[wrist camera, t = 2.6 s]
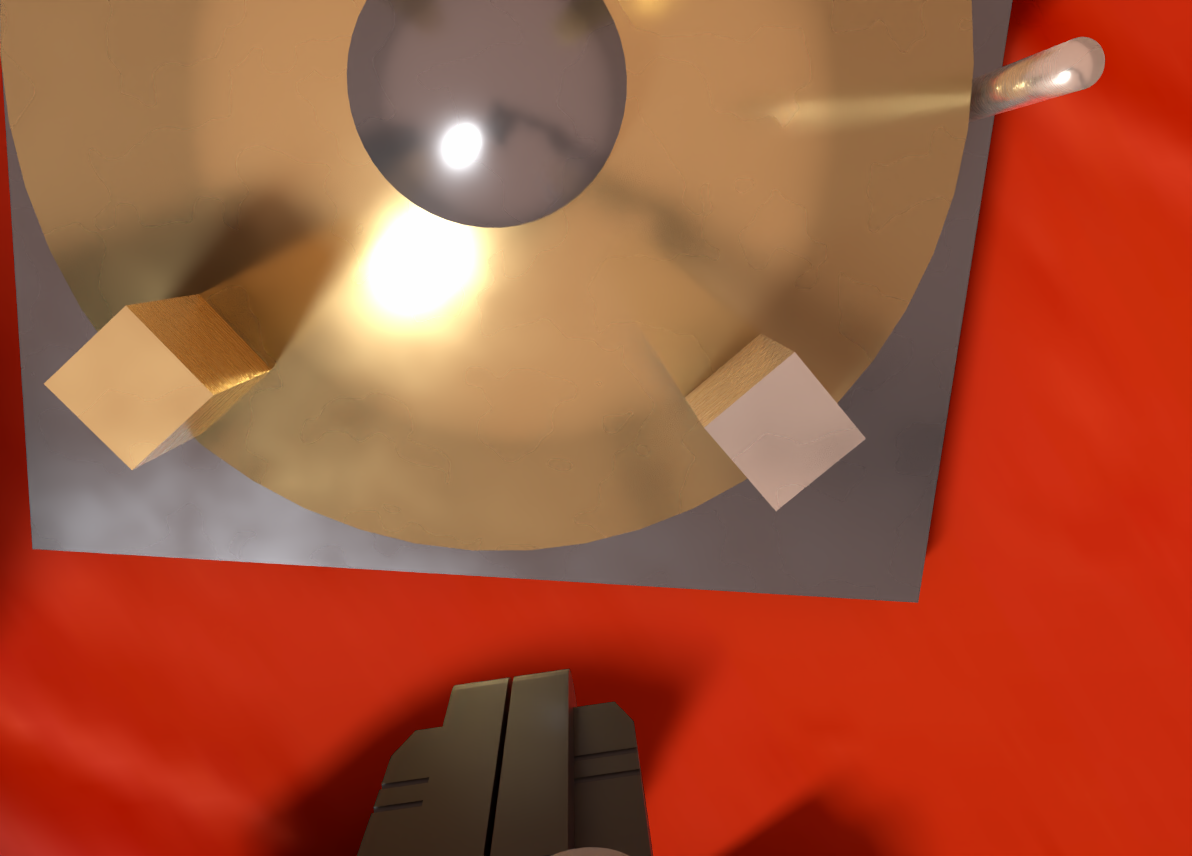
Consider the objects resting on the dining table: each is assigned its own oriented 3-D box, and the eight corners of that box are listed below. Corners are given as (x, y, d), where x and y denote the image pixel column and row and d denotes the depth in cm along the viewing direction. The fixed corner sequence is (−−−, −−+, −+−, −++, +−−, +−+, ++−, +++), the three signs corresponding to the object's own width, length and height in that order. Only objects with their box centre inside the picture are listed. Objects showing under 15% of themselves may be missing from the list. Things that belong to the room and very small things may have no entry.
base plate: (1045, -376, 23) (1266, -666, 15) (900, 583, 28) (1013, 705, 21) (5, -477, 22) (-284, -835, 15) (61, 532, 27) (-128, 640, 20)
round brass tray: (-108, 63, 23) (-373, -3, 16) (538, -618, 20) (518, -1014, 14) (477, 660, 27) (445, 794, 20) (1088, 156, 24) (1274, 127, 17)
